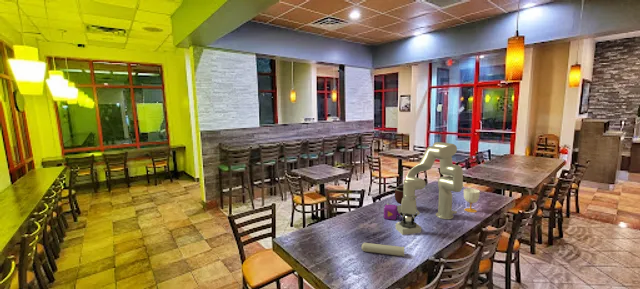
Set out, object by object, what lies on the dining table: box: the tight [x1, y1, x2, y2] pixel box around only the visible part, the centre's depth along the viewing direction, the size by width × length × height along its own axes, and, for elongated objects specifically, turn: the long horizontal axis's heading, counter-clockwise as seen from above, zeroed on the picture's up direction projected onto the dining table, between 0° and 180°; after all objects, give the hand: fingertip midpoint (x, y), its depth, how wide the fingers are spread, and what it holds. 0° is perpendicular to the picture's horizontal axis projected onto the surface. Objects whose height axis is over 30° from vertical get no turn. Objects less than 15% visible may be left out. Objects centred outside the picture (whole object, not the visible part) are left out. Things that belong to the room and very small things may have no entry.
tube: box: [361, 242, 405, 257], centre depth 164 cm, size 5×5×25 cm
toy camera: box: [383, 203, 401, 221], centre depth 213 cm, size 11×14×10 cm
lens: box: [405, 213, 413, 224], centre depth 191 cm, size 5×5×6 cm
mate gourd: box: [394, 186, 404, 210], centre depth 231 cm, size 16×14×20 cm
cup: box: [463, 187, 481, 214], centre depth 224 cm, size 12×12×17 cm
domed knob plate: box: [395, 219, 422, 236], centre depth 191 cm, size 14×10×6 cm
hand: (408, 222), depth 191 cm, fingers closed on lens, 5 cm apart
